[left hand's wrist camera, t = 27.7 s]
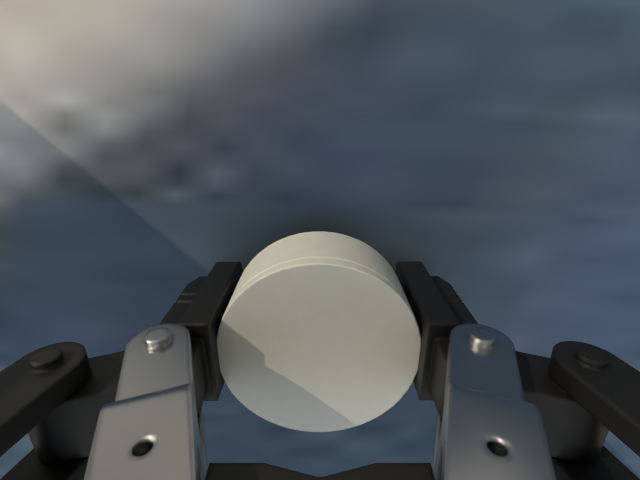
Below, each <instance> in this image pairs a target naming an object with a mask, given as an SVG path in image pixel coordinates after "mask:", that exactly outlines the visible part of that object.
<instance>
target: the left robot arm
mask: <svg viewBox="0 0 640 480" xmlns="http://www.w3.org/2000/svg"><path fill="white" fill-rule="evenodd" d="M242 274H243V270H242V265H241V262H216V264H215V265H214V267H213V269H212V270H211V272H210V273H209V275H208V276H207V277H199V278H197V279H196V280H194V281H192V282H191V283H189V284H188V285H187V286H186V288H185V289H184V291H183V292H182V293H181V295H180V296H179V298H178V299H177V300H176V303H174V305H173V306H172V307H171V309H170V310H169V312H168V313H167V314H166V316H165V317H164V319H163V320H162V321H161V323H160V324H159V325H155V326H152V327H149V328H146V329H144V330H142V331H140V332H139V333H137V334H136V335H134V336H133V337H132V338H131V339H130V340H129V341H128V343H127V345H126V348H125V351H121V352H118V353H113V354H108V355H103V356H98V357H93V358H88V356H87V353H86V350H85V347H84V346H83V345H81V344H79V343H74V342H63V343H56V344H52V345H48V346H45V347H42V348H40V349H37V350H35V351H33V352H31V353H29V354H27V355H26V356H24V357H22V358H21V359H19V360H18V361H16V362H15V363H13V364H12V365H10V366H9V367H7V368H6V369H4V370H3V371H1V372H0V457H1V456H2V455H3V454H4V453H5V452H6V451H7V450H9V449H10V448H11V447H12V446H13V445H14V444H16V443H17V442H18V441H19V440H20V439H21V438H22V437H24V436H25V435H26V434H27V433H28V434H29V436H30V439H31V441H32V444H33V446H34V449H33V450H32V451H30V452H29V453H28V454H27V455H26V456H25V457H24V458H23V459H22V460H21V461H20V462H19V463H18V464H16V465H15V466H14V467H13V468H12V469H11V470H10V471H9V472H8V473H7V474H6V475H5V476H3V477H2V478H1V479H0V480H640V479H639V478H638V477H637V476H635V475H634V474H633V473H632V472H631V471H630V470H629V469H628V468H627V467H626V466H625V465H624V464H622V463H621V462H620V461H619V460H618V459H617V458H616V457H615V456H614V455H613V454H612V453H611V452H610V451H608V450H607V449H606V448H605V447H604V446H603V444H604V441H605V438H606V436H607V433H608V431H609V430H610V431H611V432H612V433H613V434H614V435H615V436H616V437H618V438H619V439H620V440H621V441H622V442H623V443H624V444H626V445H627V446H628V447H629V448H630V449H631V450H633V451H634V452H635V453H636V454H637V455H638V456H639V457H640V372H639V371H637V370H636V369H634V368H633V367H631V366H630V365H628V364H627V363H625V362H624V361H622V360H621V359H619V358H618V357H616V356H615V355H613V354H611V353H610V352H608V351H606V350H604V349H601V348H599V347H596V346H593V345H590V344H587V343H582V342H576V341H564V342H560V343H558V344H556V345H555V346H554V348H553V351H552V354H551V358H547V357H542V356H537V355H532V354H527V353H522V352H518V351H515V348H514V345H513V343H512V341H511V340H510V339H509V338H508V337H507V336H506V335H504V334H503V333H501V332H500V331H498V330H496V329H494V328H491V327H488V326H485V325H481V324H478V323H477V322H476V320H475V319H474V318H473V316H472V315H471V313H470V312H469V310H468V309H467V308H466V306H465V305H464V303H462V300H461V299H460V298H459V296H458V295H456V292H455V290H454V289H453V288H452V286H451V285H450V284H449V283H447V282H446V281H444V280H443V279H441V278H440V277H438V276H430V275H429V273H428V272H427V270H426V268H425V267H424V265H423V264H422V262H397V265H396V271H395V274H396V275H397V277H398V280H399V282H400V284H401V286H402V289H403V291H404V293H405V296H406V298H407V300H408V302H409V305H410V307H411V309H412V312H413V314H414V316H415V319H416V321H417V324H418V326H419V331H420V335H421V345H420V354H419V362H418V369H417V374H416V376H415V378H414V380H413V381H414V384H415V388H416V391H417V394H418V397H419V400H434V402H435V405H436V408H437V410H438V415H437V422H436V433H435V445H434V456H433V468H432V467H431V464H430V463H375V464H371V465H367V466H363V467H359V468H356V469H352V470H348V471H344V472H340V473H337V474H333V475H329V476H325V477H315V476H311V475H307V474H303V473H300V472H296V471H292V470H288V469H284V468H281V467H277V466H273V465H269V464H265V463H210V464H209V467H208V468H207V456H206V445H205V434H204V422H203V415H202V409H201V406H202V404H203V401H218V399H219V396H220V393H221V390H222V387H223V384H224V379H223V377H222V374H221V371H220V364H219V356H218V348H217V334H218V328H219V326H220V323H221V320H222V317H223V315H224V313H225V311H226V308H227V306H228V304H229V302H230V300H231V297H232V295H233V293H234V291H235V288H236V286H237V284H238V282H239V279H240V277H241V276H242Z"/></svg>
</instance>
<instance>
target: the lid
mask: <svg viewBox="0 0 640 480" xmlns="http://www.w3.org/2000/svg"><path fill="white" fill-rule="evenodd" d="M420 345H421V335H420V331H419V326H418V324H417V321H416V319H415V316H414V314H413V312H412V309H411V307H410V305H409V302H408V300H407V298H406V296H405V293H404V291H403V289H402V286H401V284H400V282H399V280H398V277H397V275H396V274H395V272H394V270H393V268H392V267H391V266H390V264H389V263H388V262H387V261H386V259H385V258H384V257H383V256H382V255H380V254H379V253H378V252H377V251H376V250H374V249H373V248H372V247H370V246H369V245H367V244H365V243H363V242H362V241H360V240H358V239H355V238H352V237H350V236H347V235H343V234H339V233H333V232H324V231H321V232H305V233H299V234H295V235H291V236H288V237H285V238H283V239H280V240H278V241H276V242H274V243H273V244H271V245H269V246H267V247H266V248H265V249H264V250H262V251H261V252H260V253H258V254H257V255H256V256H255V257H254V258H253V259H252V260H251V262H250V263H249V264H248V266H247V267H246V268H245V270H244V272H243V274H242V276H241V277H240V279H239V282H238V284H237V286H236V288H235V291H234V293H233V295H232V297H231V300H230V302H229V304H228V306H227V308H226V311H225V313H224V315H223V317H222V320H221V323H220V326H219V328H218V334H217V348H218V356H219V364H220V371H221V374H222V377H223V379H224V381H225V383H226V384H227V386H228V387H229V389H230V390H231V392H232V393H233V394H234V396H235V397H236V398H237V399H238V400H239V401H240V402H241V403H242V404H243V405H244V406H245V407H247V408H248V409H249V410H251V411H252V412H253V413H255V414H256V415H258V416H260V417H262V418H263V419H265V420H267V421H269V422H272V423H274V424H277V425H279V426H283V427H286V428H290V429H295V430H300V431H309V432H329V431H338V430H343V429H348V428H352V427H355V426H358V425H361V424H364V423H366V422H368V421H371V420H373V419H375V418H376V417H378V416H380V415H382V414H383V413H384V412H386V411H387V410H389V409H390V408H391V407H392V406H394V405H395V404H396V403H397V402H398V401H399V400H400V399H401V398H402V396H403V395H404V394H405V393H406V392H407V390H408V389H409V387H410V386H411V384H412V382H413V380H414V378H415V376H416V374H417V369H418V362H419V354H420Z"/></svg>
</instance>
